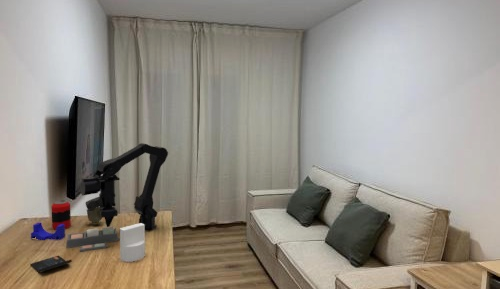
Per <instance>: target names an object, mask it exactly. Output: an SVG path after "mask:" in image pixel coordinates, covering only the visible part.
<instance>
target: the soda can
mask: <svg viewBox="0 0 500 289" xmlns="http://www.w3.org/2000/svg"><path fill="white" fill-rule="evenodd" d="M50 208H51V229H53V230H55V231H56V229H57V226H59V225H60V224H65V230H67V229H69V228H70V227H71V226H72V222H71V220H72V218H71V217H72V216H71V203H70V202H69V201H68V200H57V201H54V202H53V204H52V205H51V207H50Z"/></svg>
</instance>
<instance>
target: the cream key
mask: <svg viewBox="0 0 500 289" xmlns="http://www.w3.org/2000/svg"><path fill="white" fill-rule="evenodd" d="M86 232H87V237H91V236H99V228H92V229H87V230H86Z"/></svg>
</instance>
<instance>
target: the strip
mask: <svg viewBox="0 0 500 289" xmlns="http://www.w3.org/2000/svg"><path fill="white" fill-rule="evenodd" d="M107 243H108V242H106V243H99V244H92V245H85V246H79V252H80V253H82V252H89V251H95V250H101V249H107V248H108V244H107Z"/></svg>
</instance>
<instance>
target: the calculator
mask: <svg viewBox="0 0 500 289" xmlns="http://www.w3.org/2000/svg"><path fill="white" fill-rule="evenodd" d="M71 263H72V259H69V260H66V259H64V258H63V257H62V256H60V255H59V254H58V255H55V256H52V257H47V258H46V259H45V258H44V259H42V260H39V261H35V262H32V263H30V264H29V265H30V267H31V268H32V269H34V270H35V272H37V273H38V274H40V273H43V272H46V271H49V270H52V269H56V268H58V267H62V266H65V265H68V264H71Z"/></svg>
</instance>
